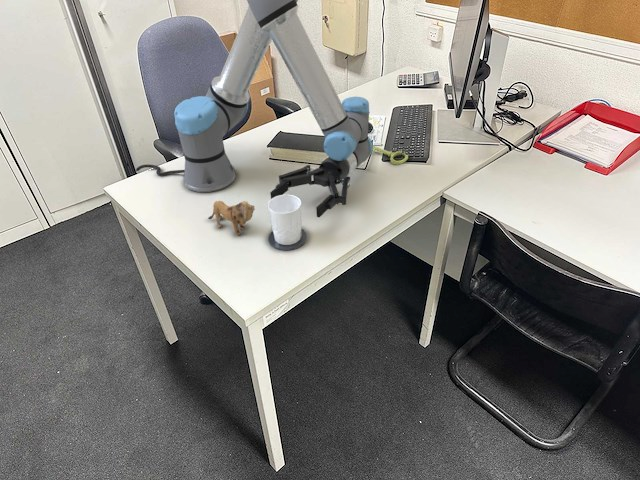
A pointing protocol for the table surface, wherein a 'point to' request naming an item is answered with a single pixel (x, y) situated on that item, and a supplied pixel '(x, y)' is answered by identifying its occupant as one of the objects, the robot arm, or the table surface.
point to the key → (392, 155)
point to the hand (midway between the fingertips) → (294, 204)
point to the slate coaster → (287, 247)
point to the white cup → (285, 218)
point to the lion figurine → (233, 214)
